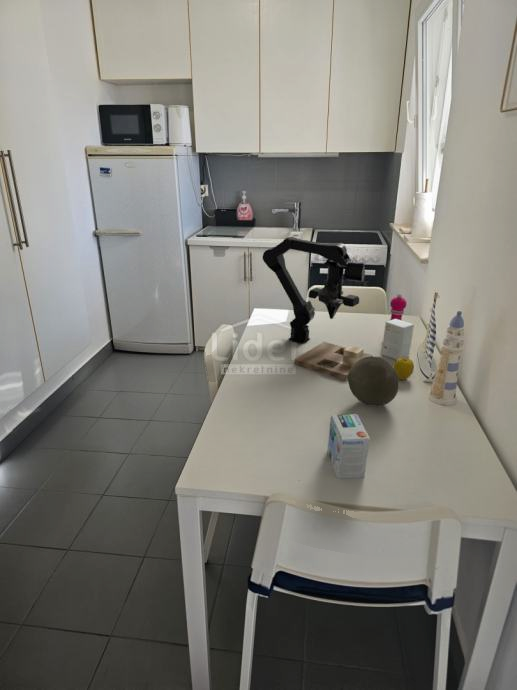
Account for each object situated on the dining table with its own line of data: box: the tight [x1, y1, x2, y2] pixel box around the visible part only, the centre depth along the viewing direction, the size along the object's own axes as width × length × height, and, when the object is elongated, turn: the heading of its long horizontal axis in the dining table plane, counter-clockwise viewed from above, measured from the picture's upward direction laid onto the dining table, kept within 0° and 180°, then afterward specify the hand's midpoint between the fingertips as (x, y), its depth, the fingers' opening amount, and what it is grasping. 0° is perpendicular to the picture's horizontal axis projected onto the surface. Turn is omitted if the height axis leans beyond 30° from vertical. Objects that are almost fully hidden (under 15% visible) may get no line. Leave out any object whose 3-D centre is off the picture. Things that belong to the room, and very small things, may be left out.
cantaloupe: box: [347, 356, 400, 407], centre depth 131 cm, size 14×14×15 cm
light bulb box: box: [326, 413, 371, 479], centre depth 106 cm, size 11×7×11 cm, turn 5°
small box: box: [381, 319, 415, 361], centre depth 166 cm, size 8×6×13 cm
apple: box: [392, 357, 415, 380], centre depth 149 cm, size 6×6×8 cm
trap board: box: [294, 341, 374, 381], centre depth 161 cm, size 20×21×2 cm
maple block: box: [342, 345, 364, 366], centre depth 156 cm, size 5×5×5 cm
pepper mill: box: [389, 293, 407, 321], centre depth 177 cm, size 7×7×20 cm
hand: (331, 318), depth 172 cm, fingers closed
